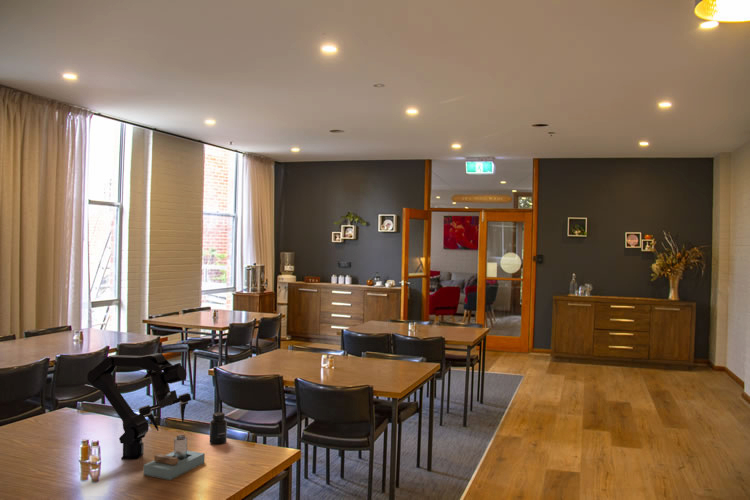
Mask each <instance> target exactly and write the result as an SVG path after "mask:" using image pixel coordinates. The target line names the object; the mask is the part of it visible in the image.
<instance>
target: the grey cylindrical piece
mask: <svg viewBox="0 0 750 500" xmlns="http://www.w3.org/2000/svg"><path fill="white" fill-rule="evenodd" d="M173 439H174V440H173V452H174V457H177V458H178V460H183V459H185V458H187V450H188V436H186V435H185V434H179V435H176V437H175V438H173Z"/></svg>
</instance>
